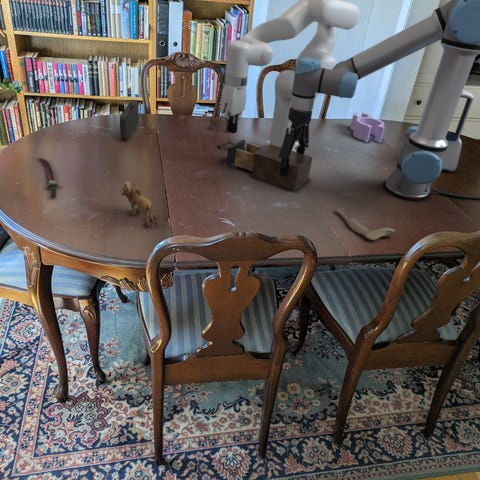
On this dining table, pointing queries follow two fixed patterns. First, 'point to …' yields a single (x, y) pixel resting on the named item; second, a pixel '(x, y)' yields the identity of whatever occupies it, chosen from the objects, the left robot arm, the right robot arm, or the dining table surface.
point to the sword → (52, 181)
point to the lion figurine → (137, 201)
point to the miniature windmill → (222, 80)
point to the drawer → (240, 153)
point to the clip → (367, 127)
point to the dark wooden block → (269, 167)
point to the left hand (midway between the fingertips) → (231, 132)
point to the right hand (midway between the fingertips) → (290, 169)
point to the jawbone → (362, 230)
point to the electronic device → (456, 138)
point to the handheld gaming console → (129, 119)
